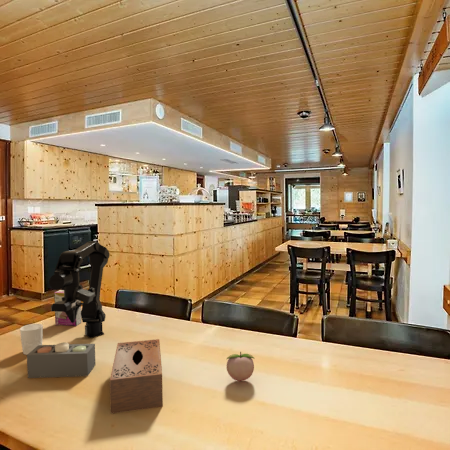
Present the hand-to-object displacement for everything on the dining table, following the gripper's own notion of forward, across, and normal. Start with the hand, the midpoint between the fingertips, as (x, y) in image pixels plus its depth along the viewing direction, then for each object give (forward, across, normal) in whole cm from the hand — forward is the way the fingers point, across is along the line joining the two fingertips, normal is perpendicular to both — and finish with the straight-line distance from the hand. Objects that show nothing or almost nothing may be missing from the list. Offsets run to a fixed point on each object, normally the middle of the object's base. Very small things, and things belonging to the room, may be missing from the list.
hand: (73, 322), depth 134 cm
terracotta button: (+8, -16, +1) cm, 18 cm away
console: (+12, -15, -5) cm, 20 cm away
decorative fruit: (+12, -15, -68) cm, 71 cm away
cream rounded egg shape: (+7, -15, -5) cm, 18 cm away
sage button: (+8, -14, -11) cm, 20 cm away
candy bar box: (+12, +29, +20) cm, 37 cm away
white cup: (+12, -2, +17) cm, 21 cm away
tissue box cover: (+13, -22, -35) cm, 43 cm away
